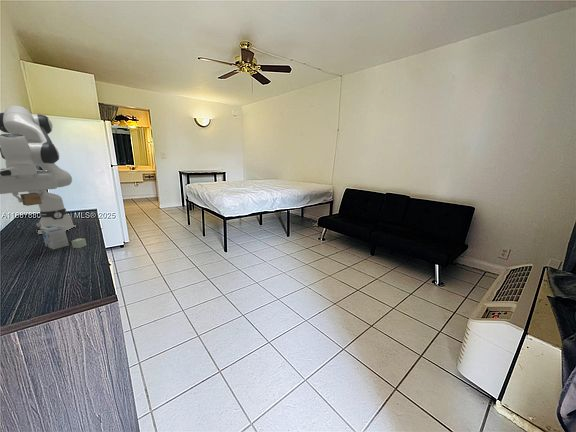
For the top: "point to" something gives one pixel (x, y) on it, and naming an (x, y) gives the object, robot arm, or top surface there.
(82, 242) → the sage block
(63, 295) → the top surface
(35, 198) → the walnut cube
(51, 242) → the light bulb box
